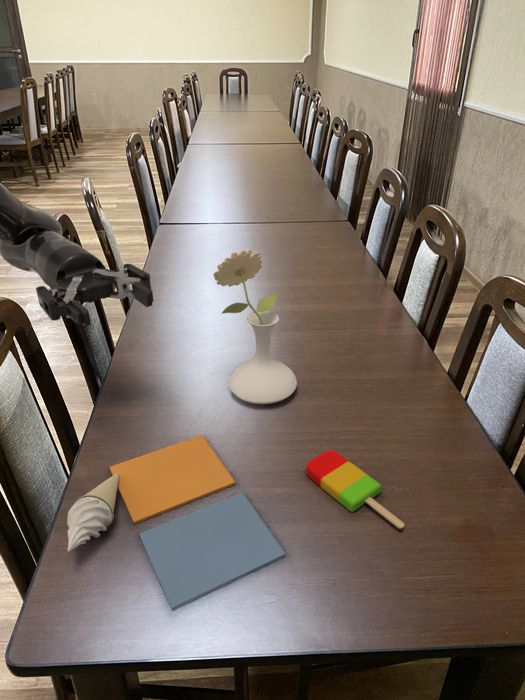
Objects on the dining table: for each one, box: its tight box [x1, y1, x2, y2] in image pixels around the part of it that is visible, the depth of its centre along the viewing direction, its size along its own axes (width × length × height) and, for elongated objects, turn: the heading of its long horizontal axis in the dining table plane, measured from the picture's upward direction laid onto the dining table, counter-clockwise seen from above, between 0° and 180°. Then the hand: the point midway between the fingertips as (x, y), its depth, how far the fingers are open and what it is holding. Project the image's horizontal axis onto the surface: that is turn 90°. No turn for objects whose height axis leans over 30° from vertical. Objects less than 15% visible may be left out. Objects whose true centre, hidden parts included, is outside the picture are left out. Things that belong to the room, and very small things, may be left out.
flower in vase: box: [213, 249, 298, 405], centre depth 84 cm, size 13×11×25 cm
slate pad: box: [138, 491, 286, 611], centre depth 63 cm, size 14×11×1 cm
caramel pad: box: [109, 434, 236, 525], centre depth 73 cm, size 14×11×1 cm
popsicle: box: [306, 449, 405, 530], centre depth 70 cm, size 6×15×2 cm, turn 39°
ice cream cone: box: [66, 473, 119, 553], centre depth 65 cm, size 5×5×15 cm
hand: (119, 309), depth 68 cm, fingers open, 8 cm apart
